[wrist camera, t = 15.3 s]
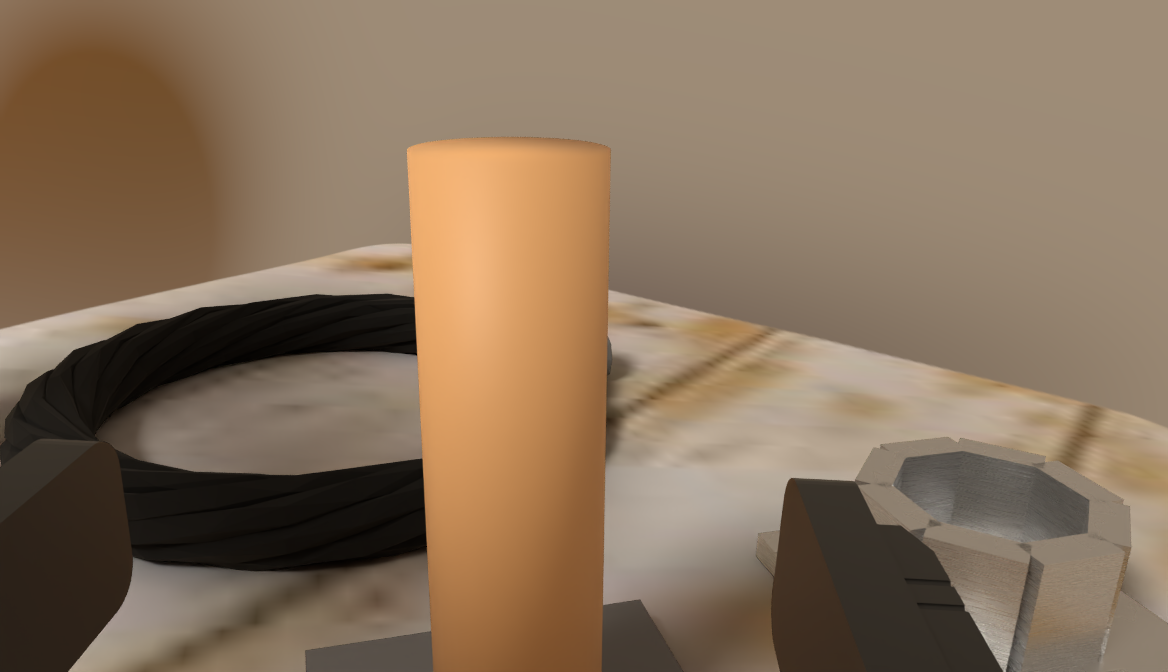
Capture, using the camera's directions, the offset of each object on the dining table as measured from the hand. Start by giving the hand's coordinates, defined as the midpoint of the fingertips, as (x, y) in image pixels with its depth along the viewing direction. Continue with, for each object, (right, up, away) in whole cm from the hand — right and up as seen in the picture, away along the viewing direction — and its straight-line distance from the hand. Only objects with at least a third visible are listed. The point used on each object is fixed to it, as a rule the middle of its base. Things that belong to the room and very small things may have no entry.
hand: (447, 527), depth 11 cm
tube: (0, -9, +14) cm, 17 cm away
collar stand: (+15, -8, +22) cm, 28 cm away
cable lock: (-10, -3, +37) cm, 38 cm away
